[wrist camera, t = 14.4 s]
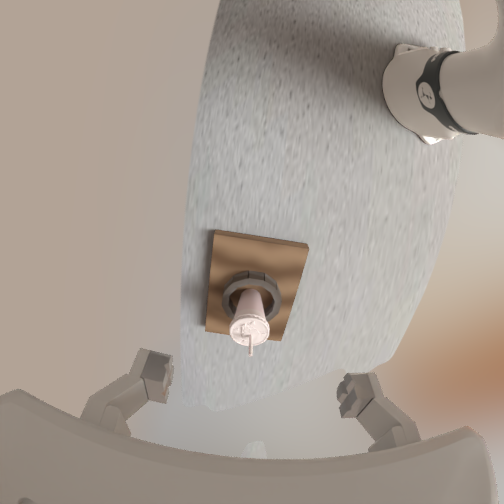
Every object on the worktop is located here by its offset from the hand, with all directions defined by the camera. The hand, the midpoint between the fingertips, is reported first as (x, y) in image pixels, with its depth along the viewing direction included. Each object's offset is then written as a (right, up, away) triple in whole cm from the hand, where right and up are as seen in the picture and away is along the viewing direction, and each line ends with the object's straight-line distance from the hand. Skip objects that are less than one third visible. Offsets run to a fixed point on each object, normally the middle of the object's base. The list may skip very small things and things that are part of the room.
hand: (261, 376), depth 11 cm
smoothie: (-1, -3, +39) cm, 39 cm away
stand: (0, -1, +40) cm, 40 cm away
